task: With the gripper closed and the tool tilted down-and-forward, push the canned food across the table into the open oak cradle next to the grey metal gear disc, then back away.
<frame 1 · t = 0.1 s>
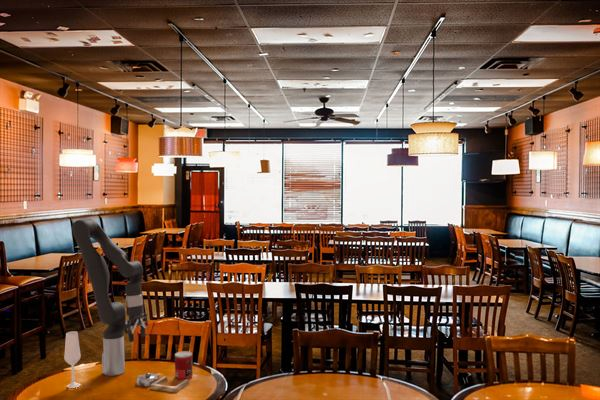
hand: (137, 338, 250), 17 cm above the table, tool pointing down, fingers open, 8 cm apart
canned food: (183, 377, 248), on the table
cradle: (170, 385, 238), on the table
champagne flute: (73, 386, 239), on the table
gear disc: (148, 382, 243), on the table
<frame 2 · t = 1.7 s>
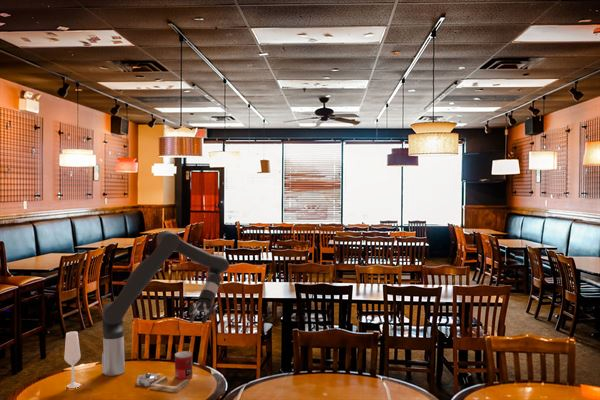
hand: (196, 322, 259), 22 cm above the table, tool tilted 45°, fingers open, 6 cm apart
nothing on the table moved.
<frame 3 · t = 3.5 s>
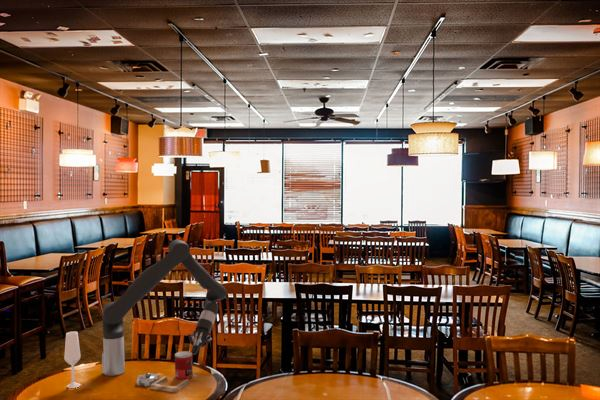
hand: (193, 353, 256), 8 cm above the table, tool tilted 45°, fingers closed
nothing on the table moved.
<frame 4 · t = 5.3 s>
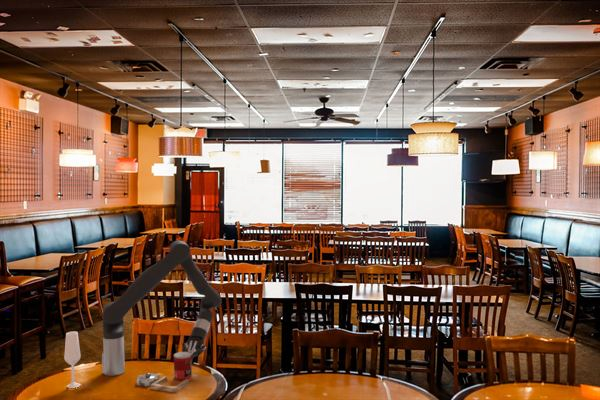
hand: (187, 363, 251), 5 cm above the table, tool tilted 45°, fingers closed
canned food: (183, 378, 248), on the table, touching gripper
everything else where it was.
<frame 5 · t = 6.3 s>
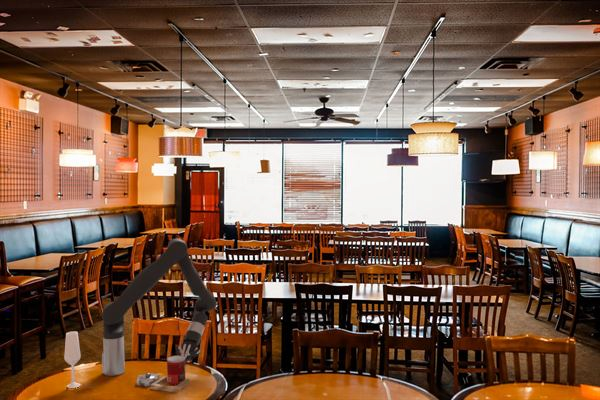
hand: (181, 367, 246), 5 cm above the table, tool tilted 45°, fingers closed
canned food: (176, 382, 242), on the table, touching gripper
everything else where it was.
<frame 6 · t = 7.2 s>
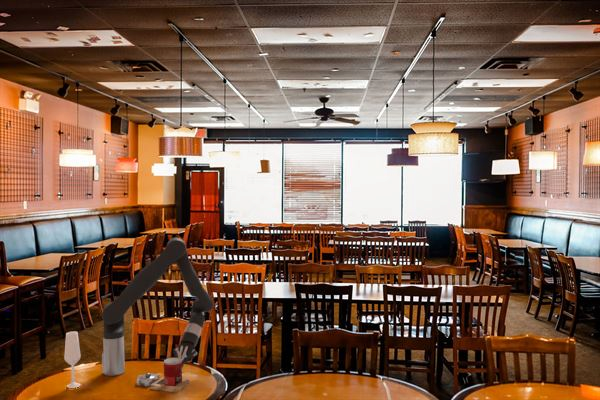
hand: (178, 369, 243), 5 cm above the table, tool tilted 45°, fingers closed
canned food: (173, 385, 239), on the table, touching gripper
everything else where it was.
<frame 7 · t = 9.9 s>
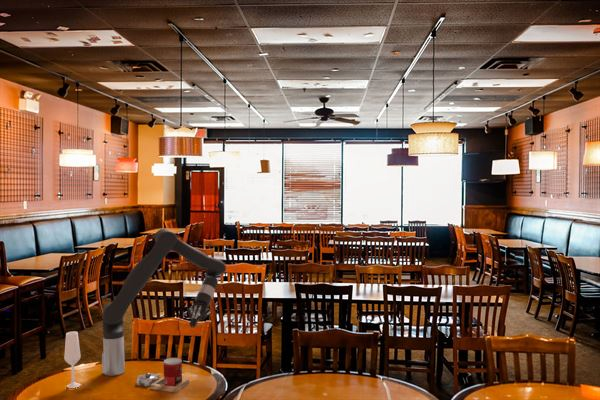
hand: (192, 326, 255), 21 cm above the table, tool tilted 45°, fingers closed
canned food: (173, 385, 239), on the table
everything else where it was.
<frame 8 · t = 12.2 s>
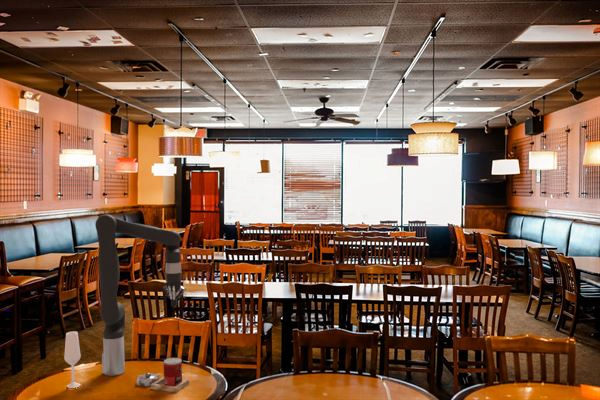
hand: (174, 306, 264), 29 cm above the table, tool pointing down, fingers closed
nothing on the table moved.
at the end: canned food inside the target area (1.1 cm from its centre), on the table; canned food tilted 0°; the gripper is holding nothing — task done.
